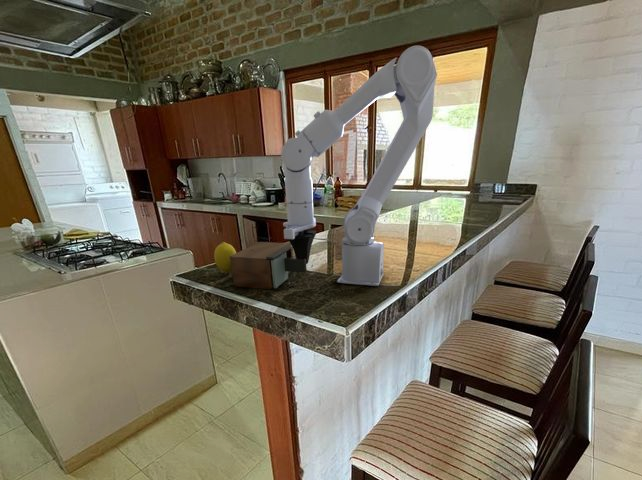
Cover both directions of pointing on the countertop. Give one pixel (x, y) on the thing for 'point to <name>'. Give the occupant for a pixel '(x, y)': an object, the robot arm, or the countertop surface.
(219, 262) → the lemon
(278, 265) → the sliding door
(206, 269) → the countertop surface
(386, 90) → the robot arm
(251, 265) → the cabinet
